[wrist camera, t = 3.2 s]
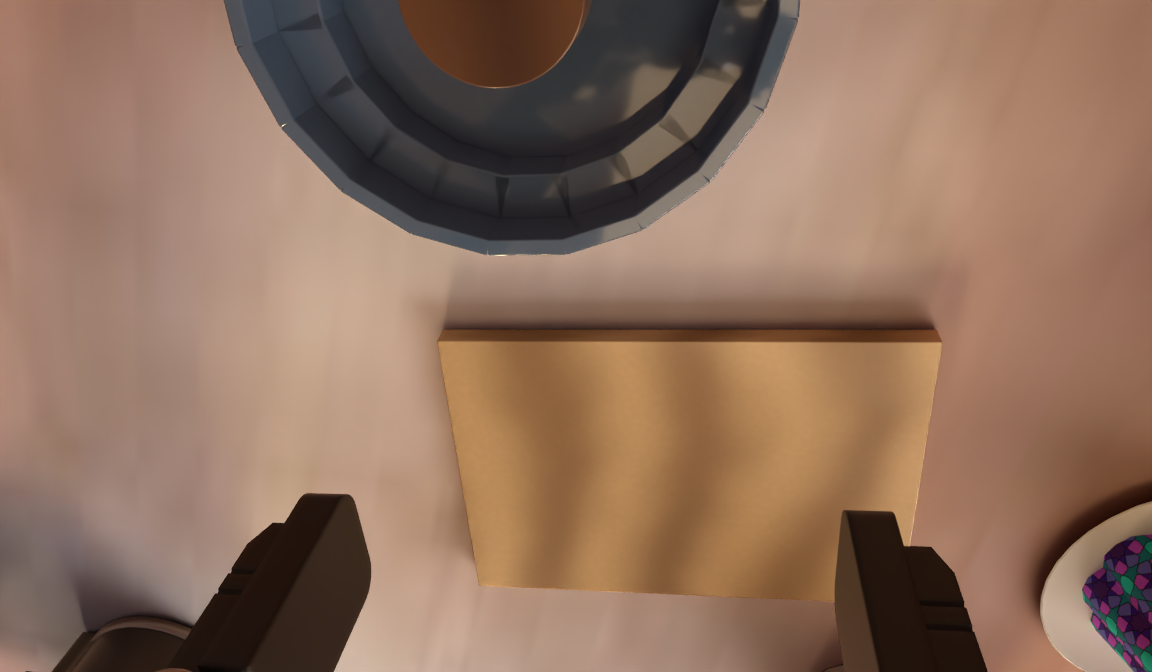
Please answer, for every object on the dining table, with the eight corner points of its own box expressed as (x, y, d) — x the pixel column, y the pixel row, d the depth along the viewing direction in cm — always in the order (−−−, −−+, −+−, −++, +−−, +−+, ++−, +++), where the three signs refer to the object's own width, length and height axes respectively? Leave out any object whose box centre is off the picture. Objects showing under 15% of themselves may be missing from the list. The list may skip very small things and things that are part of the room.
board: (483, 571, 43) (478, 586, 42) (442, 328, 36) (436, 340, 36) (896, 588, 40) (900, 604, 40) (937, 329, 34) (943, 341, 33)
